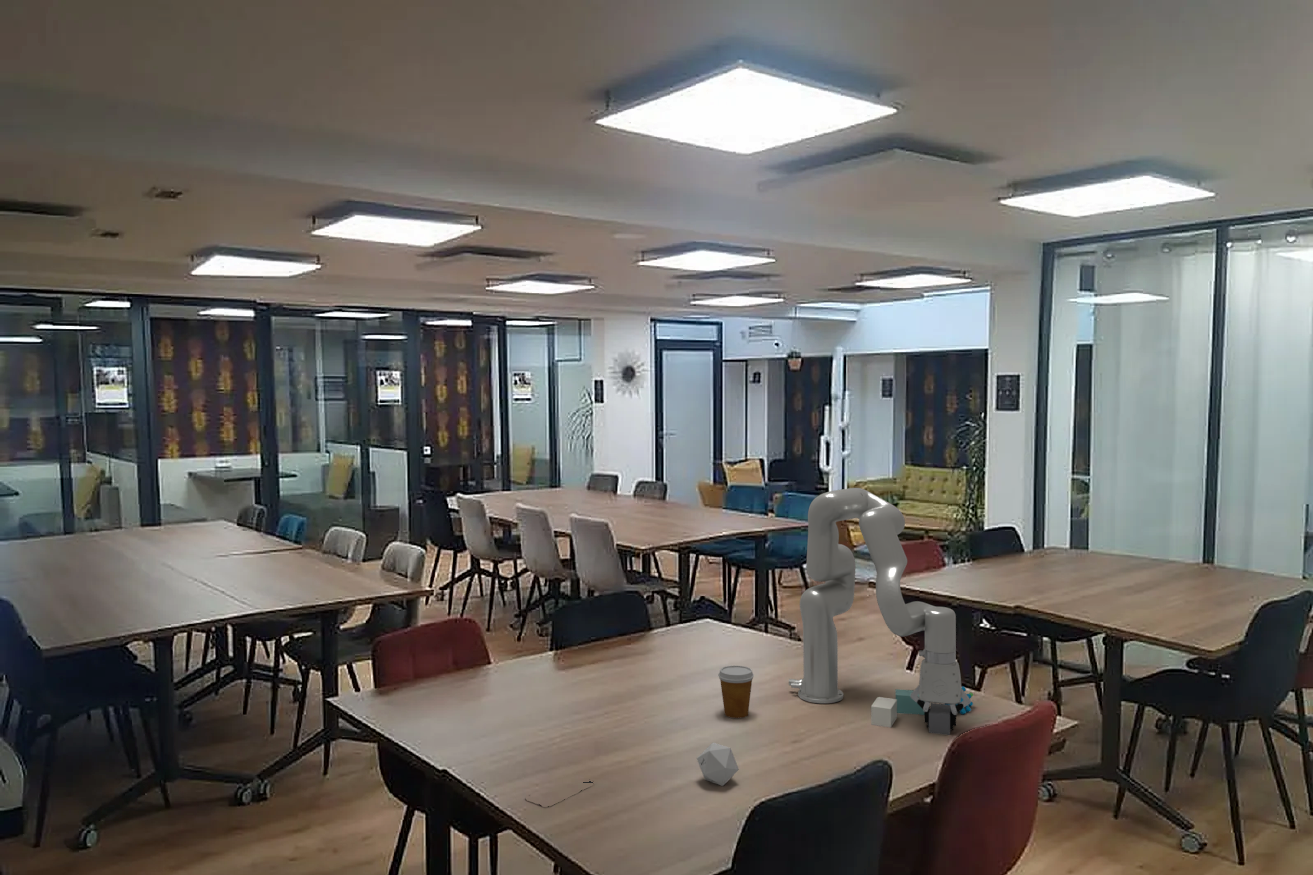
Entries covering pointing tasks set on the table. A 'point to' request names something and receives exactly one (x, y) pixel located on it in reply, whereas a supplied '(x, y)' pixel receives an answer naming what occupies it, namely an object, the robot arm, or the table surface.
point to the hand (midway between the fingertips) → (940, 726)
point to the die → (717, 764)
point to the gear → (967, 705)
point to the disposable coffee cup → (736, 690)
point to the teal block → (907, 703)
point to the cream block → (884, 712)
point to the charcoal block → (939, 719)
